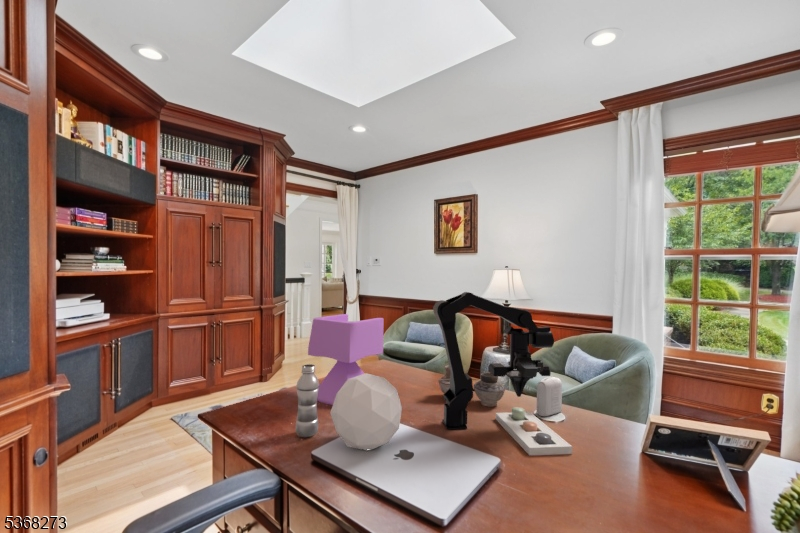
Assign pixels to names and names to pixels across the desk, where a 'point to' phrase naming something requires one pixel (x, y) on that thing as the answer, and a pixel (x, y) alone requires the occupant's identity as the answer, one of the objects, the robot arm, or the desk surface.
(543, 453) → the button console
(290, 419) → the desk surface
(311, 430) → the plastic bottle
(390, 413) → the geometric orb
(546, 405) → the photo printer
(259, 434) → the desk surface
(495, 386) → the pottery
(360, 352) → the purple table lamp
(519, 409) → the sage button
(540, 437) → the charcoal button
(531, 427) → the terracotta button
